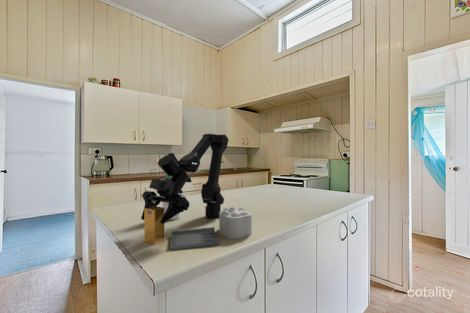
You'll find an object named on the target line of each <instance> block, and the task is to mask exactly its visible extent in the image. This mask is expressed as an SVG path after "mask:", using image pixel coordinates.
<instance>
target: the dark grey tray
mask: <svg viewBox="0 0 470 313" xmlns="http://www.w3.org/2000/svg"><path fill="white" fill-rule="evenodd" d="M218 246H220V241H219V238H218V235H217V233H216V230H215V227H214V226H213V227H203V228H187V229H186V228H185V229H176V230H175V229H173V230H171V237H170V243H169V251H174V250H184V249H193V248H194V249H196V248H205V247H206V248H207V247H218Z"/></svg>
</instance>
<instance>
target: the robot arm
mask: <svg viewBox="0 0 470 313" xmlns="http://www.w3.org/2000/svg"><path fill="white" fill-rule="evenodd" d="M228 144H229V137H227V135H226V134H215V133H204V134H203V135H202V137H201V138H200V140H199V141H198V143H197V144H196V145H195V146H194V147H193V149H192V150H191V151H190V152H189V153H187V154H185V155H184V156H182V157H181V158H180V159H179V160H178V158H177V157H176V155H175V154H174V153H173V152H169V153H167V154H166V155H165V156H163V157H161V158H159V160H157V166H159V168H160V169H161V170H162V171H163V173H164V174H165V175H167V176H172V177H171V178H170V179H169V178H166V177H165V178H164V179H161V178H151V181H150V184H149V189H153V190H156V192H155V191H152V190H147V191H146V190H145V191H144V192H143V193H142V194H141V197H142V199H143V201H144V207H143V211H142V214H141V216H140V219H141V220H142V221H144V208H148V207H152V206H157V207H158V205H159V204H160V203H163V202H165V203H168V208H167V210H166V212H165V213H164V215H163V217H162V219H161V221H160V223H161V224H163V223H164V224H165V223H166V222H168V221H170V220H169V219H171V218H172V217H174V216H175V215H177V214H179V213H180V214H181V213H183V212H185V211H188V209H189V208H190V201H189V200H188V199H187V198H186V196H185V195H184V194H182V193H183V190H182V189H183V188H184V186H185V185H186V183H192V178H191V175H189V174H190V173H191V174H194V173H196V172H197V171H198V169H199V167H200V165H201V159H202V157H203V156H204V155H205V153H206V152H207V151H208V149H209V148H210V149H211V151H212V152H211V158H210V164H209V170H208V178H207V181H206V182H205V183H202V186H201V191H200V193H201V194H200V195H201V199H202V203H203V204H206V206H205V207H204V208H205V209H204V213H205V214H204V216H206V219H217V218H219V212H220V211H221V210H222V209H221V205H224V201H225V198H224V196H223V195H222V194H221V191H222V190H221V186H220V183H219V179H220V173H221V166H222V159H223V154H224V152H225V151H226V150H227V148H228ZM188 173H189V174H188Z"/></svg>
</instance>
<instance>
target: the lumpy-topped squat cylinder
mask: <svg viewBox="0 0 470 313" xmlns="http://www.w3.org/2000/svg"><path fill="white" fill-rule="evenodd" d="M252 218H253V217H252V213H251V212H249V211H247V210H246V208H244V207H240V208H236V207H234V206H231V207H229V208H228V207H225V208H224V209H221V211H220V212H219V220H218V221H219V222H218V223H219V225H218V230H219V234H220V235H221V236H223V237H226V238H228V239H232V240H236V239H241V238H244V237H249V236H251V235H252V233H253V232H252V231H253V230H252V223H253V222H252Z"/></svg>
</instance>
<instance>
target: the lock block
mask: <svg viewBox="0 0 470 313" xmlns="http://www.w3.org/2000/svg"><path fill="white" fill-rule="evenodd" d="M143 210H144V220H143V221H144V242H146V243H149V244H152V243H153V245H156V243H157V244H159V243H161V242H164V241H165V223H163V224H161V223H160V221H161V219H162V217H163V215H164V208H163V206H158V205H157V206H152V207H148V208H144V207H143ZM163 240H164V241H163ZM158 242H159V243H158Z"/></svg>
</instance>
